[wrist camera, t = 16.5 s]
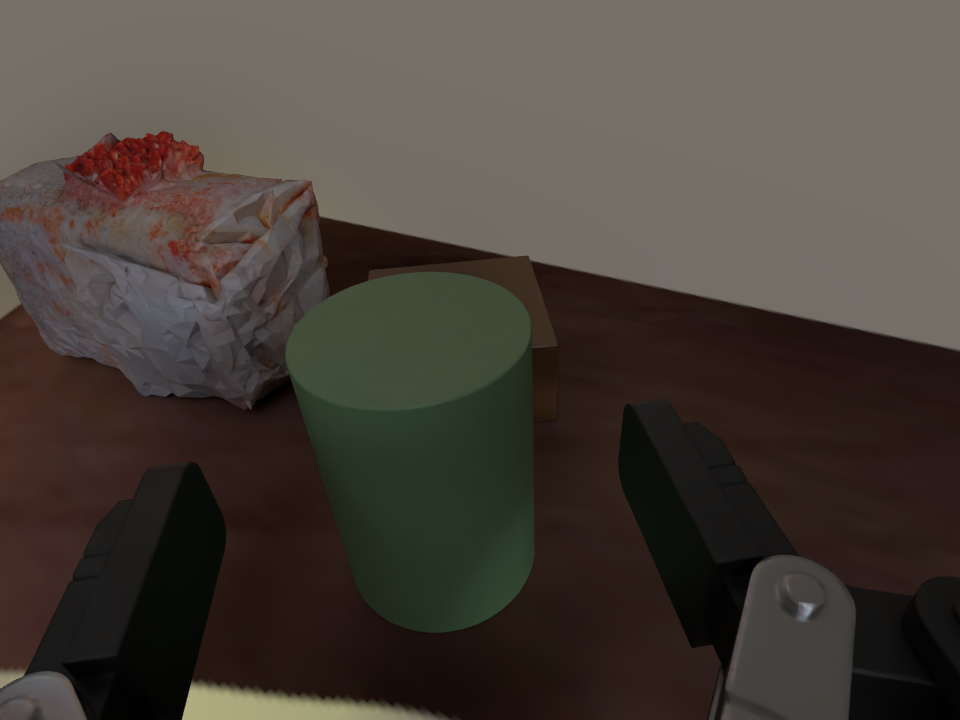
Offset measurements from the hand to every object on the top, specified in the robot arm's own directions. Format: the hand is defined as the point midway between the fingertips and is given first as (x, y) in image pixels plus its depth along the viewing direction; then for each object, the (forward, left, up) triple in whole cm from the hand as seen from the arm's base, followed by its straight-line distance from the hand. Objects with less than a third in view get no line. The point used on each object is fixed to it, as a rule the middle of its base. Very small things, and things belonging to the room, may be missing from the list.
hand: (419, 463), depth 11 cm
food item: (-4, -18, -7) cm, 20 cm away
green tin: (-2, -2, -7) cm, 8 cm away
